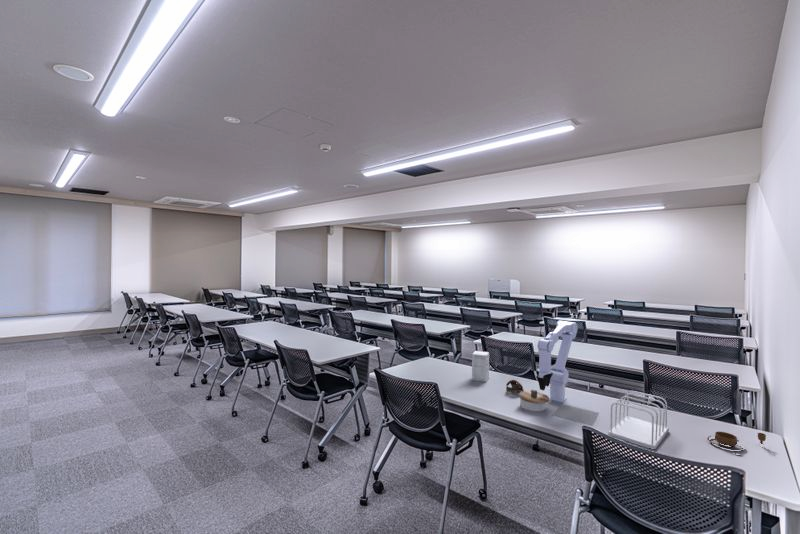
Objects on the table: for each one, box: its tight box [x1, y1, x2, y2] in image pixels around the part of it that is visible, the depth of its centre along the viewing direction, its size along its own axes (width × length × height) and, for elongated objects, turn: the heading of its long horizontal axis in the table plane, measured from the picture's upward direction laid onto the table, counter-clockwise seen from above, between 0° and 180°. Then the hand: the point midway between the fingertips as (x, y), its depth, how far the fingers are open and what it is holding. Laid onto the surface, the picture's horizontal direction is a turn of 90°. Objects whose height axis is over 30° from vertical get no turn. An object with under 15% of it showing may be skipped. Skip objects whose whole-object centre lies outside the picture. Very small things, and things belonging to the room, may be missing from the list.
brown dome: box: [505, 379, 525, 393], centre depth 215 cm, size 12×10×8 cm
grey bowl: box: [519, 398, 547, 412], centre depth 194 cm, size 12×12×5 cm
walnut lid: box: [518, 389, 550, 404], centre depth 193 cm, size 15×15×4 cm
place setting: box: [707, 431, 767, 447], centre depth 154 cm, size 18×20×6 cm
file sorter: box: [607, 390, 670, 450], centre depth 166 cm, size 25×17×16 cm
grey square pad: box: [552, 403, 600, 426], centre depth 185 cm, size 18×18×1 cm
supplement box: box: [471, 350, 490, 382], centre depth 238 cm, size 10×9×17 cm
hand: (544, 387), depth 196 cm, fingers open, 7 cm apart
